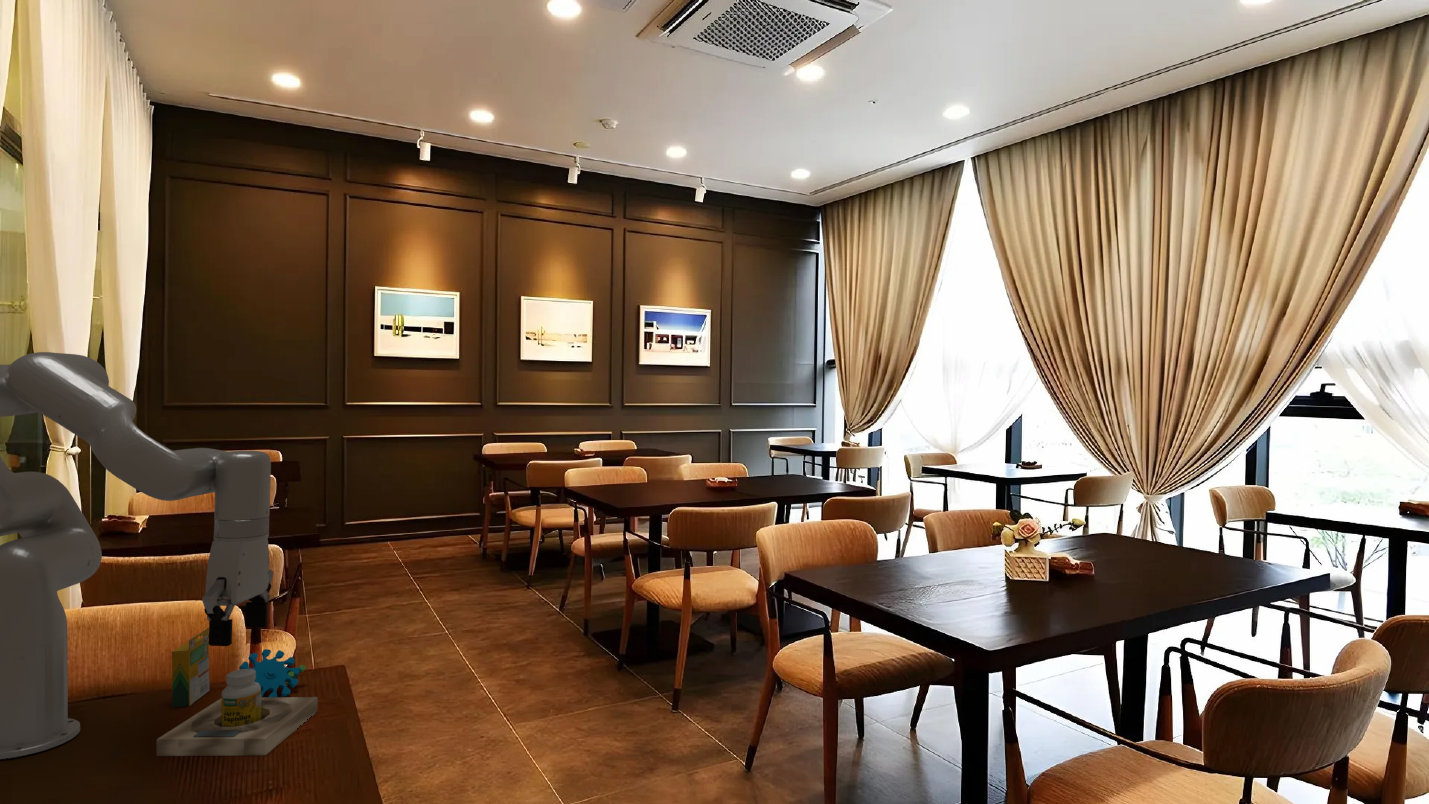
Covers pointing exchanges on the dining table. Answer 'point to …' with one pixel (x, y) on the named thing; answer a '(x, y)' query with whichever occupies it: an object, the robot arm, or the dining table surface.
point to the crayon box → (190, 670)
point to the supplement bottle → (241, 699)
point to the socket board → (237, 729)
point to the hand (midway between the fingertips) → (238, 635)
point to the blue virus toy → (274, 672)
